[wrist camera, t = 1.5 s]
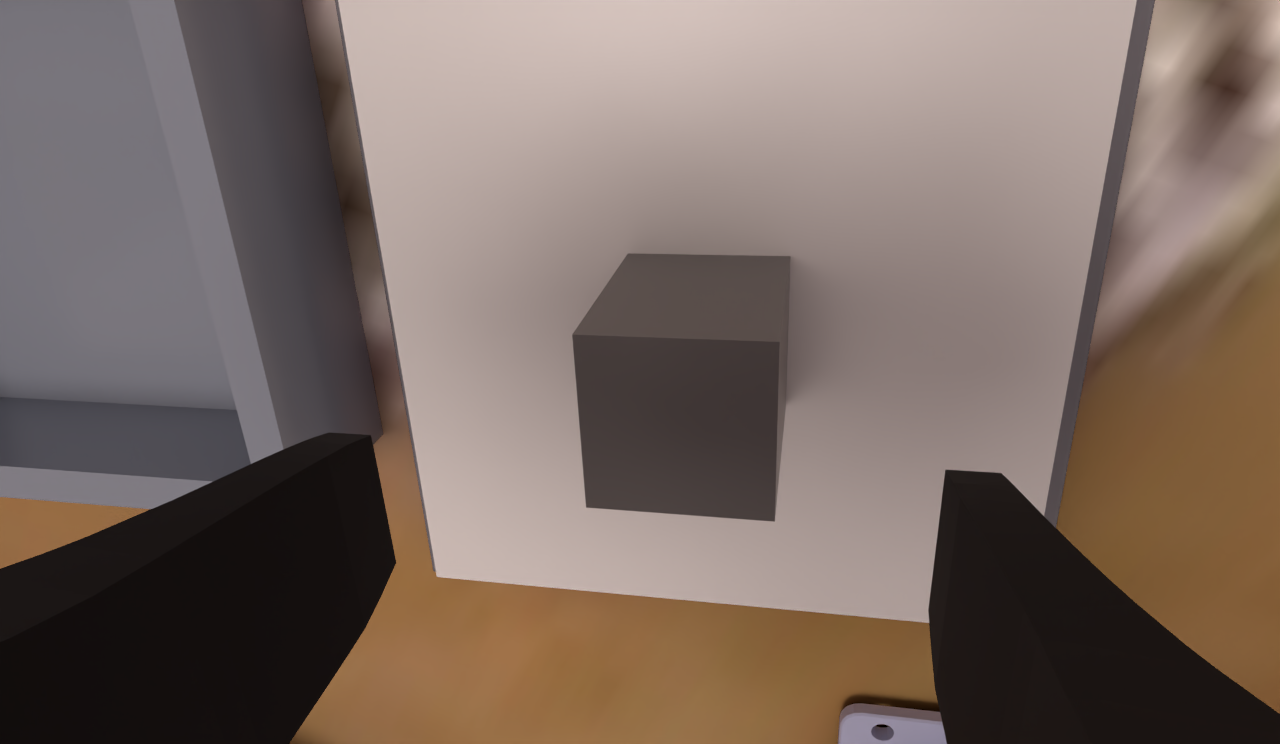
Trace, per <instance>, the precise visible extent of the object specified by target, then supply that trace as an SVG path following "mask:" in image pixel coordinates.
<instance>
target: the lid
mask: <svg viewBox="0 0 1280 744" xmlns="http://www.w3.org/2000/svg"><path fill="white" fill-rule="evenodd" d="M1136 2H1137V0H338V3H339V9H340V15H341V21H342V26H343V32H344V38H345V44H346V50H347V56H348V61H349V67H350V73H351V79H352V85H353V91H354V96H355V102H356V108H357V114H358V120H359V126H360V131H361V137H362V143H363V149H364V155H365V161H366V166H367V172H368V178H369V184H370V190H371V196H372V201H373V207H374V213H375V219H376V225H377V231H378V236H379V242H380V248H381V254H382V260H383V266H384V271H385V277H386V283H387V289H388V295H389V301H390V306H391V312H392V318H393V324H394V330H395V336H396V341H397V347H398V353H399V359H400V365H401V371H402V376H403V382H404V388H405V394H406V400H407V406H408V411H409V417H410V423H411V429H412V435H413V441H414V446H415V452H416V458H417V464H418V470H419V476H420V481H421V487H422V493H423V499H424V505H425V511H426V516H427V522H428V528H429V534H430V540H431V546H432V551H433V557H434V563H435V569H436V575H437V577H443V578H454V579H465V580H476V581H486V582H497V583H508V584H518V585H529V586H540V587H551V588H561V589H572V590H583V591H593V592H604V593H615V594H626V595H636V596H647V597H658V598H668V599H679V600H690V601H700V602H711V603H722V604H733V605H743V606H754V607H765V608H775V609H786V610H797V611H808V612H818V613H829V614H840V615H850V616H861V617H872V618H883V619H893V620H904V621H915V622H925V623H929V613H928V608H929V600H930V592H931V584H932V575H933V567H934V559H935V551H936V542H937V534H938V526H939V518H940V510H941V501H942V493H943V485H944V477H945V470H961V471H978V472H995V473H1002V474H1003V475H1004V476H1005V477H1006V478H1007V479H1008V480H1009V481H1010V482H1011V483H1012V484H1013V485H1014V486H1015V487H1016V488H1017V489H1018V490H1019V491H1020V492H1021V493H1022V494H1023V495H1024V496H1025V497H1026V498H1027V499H1028V500H1029V501H1030V502H1031V503H1032V504H1033V505H1034V506H1035V507H1036V508H1037V510H1038V511H1039V512H1040V513H1041V514H1042V515H1043V516H1044V514H1045V508H1046V502H1047V497H1048V491H1049V486H1050V480H1051V475H1052V469H1053V463H1054V458H1055V452H1056V447H1057V441H1058V436H1059V430H1060V425H1061V419H1062V413H1063V408H1064V402H1065V397H1066V391H1067V386H1068V380H1069V374H1070V369H1071V363H1072V358H1073V352H1074V347H1075V341H1076V336H1077V330H1078V324H1079V319H1080V313H1081V308H1082V302H1083V297H1084V291H1085V286H1086V280H1087V274H1088V269H1089V263H1090V258H1091V252H1092V247H1093V241H1094V235H1095V230H1096V224H1097V219H1098V213H1099V208H1100V202H1101V197H1102V191H1103V185H1104V180H1105V174H1106V169H1107V163H1108V158H1109V152H1110V146H1111V141H1112V135H1113V130H1114V124H1115V119H1116V113H1117V108H1118V102H1119V96H1120V91H1121V85H1122V80H1123V74H1124V69H1125V63H1126V58H1127V52H1128V46H1129V41H1130V35H1131V30H1132V24H1133V19H1134V13H1135V7H1136Z"/></svg>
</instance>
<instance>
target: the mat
mask: <svg viewBox="0 0 1280 744" xmlns="http://www.w3.org/2000/svg"><path fill="white" fill-rule="evenodd" d="M1154 2H1155V0H1137V2H1136V7H1135V13H1134V19H1133V24H1132V30H1131V35H1130V41H1129V46H1128V52H1127V58H1126V63H1125V69H1124V74H1123V80H1122V85H1121V91H1120V96H1119V102H1118V108H1117V113H1116V119H1115V124H1114V130H1113V135H1112V141H1111V146H1110V152H1109V158H1108V163H1107V169H1106V174H1105V180H1104V185H1103V191H1102V197H1101V202H1100V208H1099V213H1098V219H1097V224H1096V230H1095V235H1094V241H1093V247H1092V252H1091V258H1090V263H1089V269H1088V274H1087V280H1086V286H1085V291H1084V297H1083V302H1082V308H1081V313H1080V319H1079V324H1078V330H1077V336H1076V341H1075V347H1074V352H1073V358H1072V363H1071V369H1070V374H1069V380H1068V386H1067V391H1066V397H1065V402H1064V408H1063V413H1062V419H1061V425H1060V430H1059V436H1058V441H1057V447H1056V452H1055V458H1054V463H1053V469H1052V475H1051V480H1050V486H1049V491H1048V497H1047V502H1046V508H1045V514H1044V517H1045V518H1046V519H1047V520H1048V521H1049V522H1050V523H1051V524H1052V525H1053V526H1054V527H1055V528H1056V524H1057V519H1058V514H1059V508H1060V503H1061V498H1062V492H1063V487H1064V482H1065V476H1066V471H1067V466H1068V460H1069V455H1070V450H1071V444H1072V439H1073V434H1074V428H1075V423H1076V418H1077V412H1078V407H1079V402H1080V396H1081V391H1082V386H1083V381H1084V375H1085V370H1086V365H1087V359H1088V354H1089V349H1090V343H1091V338H1092V333H1093V327H1094V322H1095V317H1096V311H1097V306H1098V301H1099V295H1100V290H1101V285H1102V279H1103V274H1104V269H1105V263H1106V258H1107V253H1108V247H1109V242H1110V237H1111V231H1112V226H1113V221H1114V215H1115V210H1116V205H1117V199H1118V194H1119V189H1120V183H1121V178H1122V173H1123V168H1124V162H1125V157H1126V152H1127V146H1128V141H1129V136H1130V130H1131V125H1132V120H1133V114H1134V109H1135V104H1136V98H1137V93H1138V88H1139V82H1140V77H1141V72H1142V66H1143V61H1144V56H1145V50H1146V45H1147V40H1148V34H1149V29H1150V24H1151V18H1152V13H1153V8H1154ZM335 3H336V9H337V15H338V21H339V26H340V32H341V38H342V44H343V50H344V55H345V61H346V67H347V73H348V79H349V84H350V90H351V96H352V102H353V108H354V113H355V119H356V125H357V131H358V136H359V142H360V148H361V154H362V160H363V165H364V171H365V177H366V183H367V189H368V194H369V200H370V206H371V212H372V218H373V223H374V229H375V235H376V241H377V246H378V252H379V258H380V264H381V270H382V275H383V281H384V287H385V293H386V299H387V304H388V310H389V316H390V322H391V327H392V333H393V339H394V345H395V351H396V356H397V362H398V368H399V374H400V380H401V385H402V391H403V397H404V403H405V409H406V414H407V420H408V426H409V432H410V437H411V443H412V449H413V455H414V461H415V466H416V472H417V478H418V484H419V490H420V495H421V501H422V507H423V513H424V519H425V524H426V530H427V536H428V542H429V547H430V553H431V559H432V565H433V571H436V569H435V563H434V557H433V551H432V546H431V540H430V534H429V528H428V522H427V516H426V511H425V505H424V499H423V493H422V487H421V481H420V476H419V470H418V464H417V458H416V452H415V446H414V441H413V435H412V429H411V423H410V417H409V411H408V406H407V400H406V394H405V388H404V382H403V376H402V371H401V365H400V359H399V353H398V347H397V341H396V336H395V330H394V324H393V318H392V312H391V306H390V301H389V295H388V289H387V283H386V277H385V271H384V266H383V260H382V254H381V248H380V242H379V236H378V231H377V225H376V219H375V213H374V207H373V201H372V196H371V190H370V184H369V178H368V172H367V166H366V161H365V155H364V149H363V143H362V137H361V131H360V126H359V120H358V114H357V108H356V102H355V96H354V91H353V85H352V79H351V73H350V67H349V61H348V56H347V50H346V44H345V38H344V32H343V26H342V21H341V15H340V9H339V3H338V0H335Z"/></svg>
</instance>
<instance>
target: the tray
mask: <svg viewBox="0 0 1280 744" xmlns="http://www.w3.org/2000/svg"><path fill="white" fill-rule="evenodd" d="M329 432H330V433H346V434H363V435H371V438H372V443H373V444H374V443H375V442H376V441H377V440H378V439H379V438H380V437H381V436H382V435H383V430H382V425H381V419H380V414H379V409H378V403H377V398H376V393H375V387H374V382H373V377H372V372H371V366H370V361H369V356H368V350H367V345H366V340H365V334H364V329H363V324H362V318H361V313H360V308H359V302H358V297H357V292H356V287H355V281H354V276H353V271H352V265H351V260H350V255H349V249H348V244H347V239H346V233H345V228H344V223H343V218H342V212H341V207H340V202H339V196H338V191H337V186H336V180H335V175H334V170H333V164H332V159H331V154H330V148H329V143H328V138H327V133H326V127H325V122H324V117H323V111H322V106H321V101H320V95H319V90H318V85H317V79H316V74H315V69H314V64H313V58H312V53H311V48H310V42H309V37H308V32H307V26H306V21H305V16H304V10H303V5H302V0H0V497H9V498H21V499H33V500H46V501H58V502H70V503H83V504H95V505H107V506H120V507H132V508H144V509H153V508H155V507H158V506H160V505H162V504H165V503H167V502H169V501H172V500H174V499H176V498H178V497H181V496H183V495H185V494H187V493H189V492H191V491H194V490H196V489H198V488H200V487H202V486H204V485H207V484H209V483H211V482H213V481H215V480H217V479H220V478H222V477H224V476H226V475H228V474H230V473H233V472H235V471H237V470H239V469H241V468H243V467H246V466H248V465H250V464H252V463H254V462H256V461H259V460H261V459H263V458H265V457H267V456H270V455H272V454H274V453H276V452H279V451H281V450H283V449H286V448H288V447H290V446H293V445H295V444H298V443H300V442H303V441H305V440H308V439H311V438H313V437H316V436H319V435H323V434H326V433H329Z"/></svg>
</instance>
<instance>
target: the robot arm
mask: <svg viewBox="0 0 1280 744" xmlns="http://www.w3.org/2000/svg"><path fill="white" fill-rule="evenodd" d="M395 564H396V560H395V555H394V550H393V545H392V539H391V534H390V529H389V524H388V519H387V514H386V509H385V504H384V499H383V494H382V488H381V483H380V478H379V473H378V468H377V463H376V458H375V453H374V448H373V443H372V438H371V435H363V434H346V433H330V432H329V433H326V434H323V435H319V436H316V437H313V438H311V439H308V440H305V441H303V442H300V443H298V444H295V445H293V446H290V447H288V448H286V449H283V450H281V451H279V452H276V453H274V454H272V455H270V456H267V457H265V458H263V459H261V460H259V461H256V462H254V463H252V464H250V465H248V466H246V467H243V468H241V469H239V470H237V471H235V472H233V473H230V474H228V475H226V476H224V477H222V478H220V479H217V480H215V481H213V482H211V483H209V484H207V485H204V486H202V487H200V488H198V489H196V490H194V491H191V492H189V493H187V494H185V495H183V496H181V497H178V498H176V499H174V500H172V501H169V502H167V503H165V504H162V505H160V506H158V507H155V508H153V509H151V510H148V511H146V512H144V513H141V514H139V515H137V516H134V517H132V518H130V519H127V520H125V521H123V522H120V523H118V524H116V525H113V526H111V527H109V528H106V529H104V530H102V531H99V532H97V533H95V534H92V535H90V536H88V537H85V538H83V539H80V540H78V541H75V542H72V543H70V544H67V545H65V546H62V547H59V548H57V549H54V550H52V551H49V552H46V553H44V554H41V555H38V556H35V557H33V558H30V559H27V560H24V561H21V562H18V563H15V564H13V565H10V566H7V567H4V568H1V569H0V744H289V743H290V741H291V740H292V738H293V737H294V735H295V734H296V732H297V731H298V729H299V728H300V726H301V725H302V723H303V722H304V720H305V719H306V717H307V716H308V714H309V713H310V711H311V710H312V708H313V707H314V705H315V704H316V702H317V701H318V699H319V698H320V696H321V695H322V693H323V692H324V691H325V689H326V688H327V686H328V685H329V683H330V682H331V680H332V679H333V677H334V675H335V674H336V672H337V671H338V669H339V668H340V666H341V665H342V663H343V662H344V660H345V659H346V657H347V656H348V654H349V653H350V651H351V649H352V648H353V646H354V645H355V643H356V642H357V640H358V639H359V637H360V635H361V634H362V632H363V631H364V629H365V627H366V625H367V623H368V621H369V619H370V617H371V615H372V613H373V611H374V609H375V607H376V605H377V603H378V601H379V599H380V597H381V595H382V593H383V591H384V588H385V586H386V584H387V582H388V579H389V577H390V575H391V573H392V571H393V568H394V566H395ZM928 613H929V626H930V638H931V650H932V661H933V671H934V682H935V690H936V695H937V700H938V705H939V709H940V712H935V711H926V710H917V709H908V708H899V707H890V706H881V705H873V704H864V703H856V704H851V705H848V706H846V707H845V708H844V709H843V710H842V711H841V714H840V718H839V732H838V744H1280V714H1279V713H1277V712H1276V711H1274V710H1273V709H1272V708H1270V707H1269V706H1268V705H1266V704H1265V703H1263V702H1262V701H1261V700H1259V699H1258V698H1256V697H1255V696H1254V695H1252V694H1251V693H1250V692H1248V691H1247V690H1245V689H1244V688H1243V687H1241V686H1240V685H1238V684H1237V683H1236V682H1234V681H1233V680H1231V679H1230V678H1229V677H1227V676H1226V675H1225V674H1223V673H1222V672H1220V671H1219V670H1218V669H1216V668H1215V667H1214V666H1212V665H1211V664H1210V663H1208V662H1207V661H1206V660H1204V659H1203V658H1202V657H1201V656H1199V655H1198V654H1197V653H1195V652H1194V651H1193V650H1192V649H1190V648H1189V647H1188V646H1186V645H1185V644H1184V643H1183V642H1181V641H1180V640H1179V639H1178V638H1177V637H1176V636H1174V635H1173V634H1172V633H1171V632H1170V631H1168V630H1167V629H1166V628H1165V627H1164V626H1162V625H1161V624H1160V623H1159V622H1158V621H1156V620H1155V619H1154V618H1153V617H1152V616H1150V615H1149V614H1148V613H1147V612H1146V611H1144V610H1143V609H1142V608H1141V607H1140V606H1138V605H1137V604H1136V603H1135V602H1134V601H1133V600H1132V599H1130V598H1129V597H1128V596H1127V595H1126V594H1125V593H1124V592H1123V591H1122V590H1120V589H1119V588H1118V587H1117V586H1116V585H1115V584H1114V583H1113V582H1111V581H1110V580H1109V579H1108V578H1107V577H1106V576H1105V575H1104V574H1103V573H1102V572H1101V571H1100V570H1098V569H1097V568H1096V567H1095V566H1094V565H1093V564H1092V563H1091V562H1090V561H1089V560H1088V559H1087V558H1086V557H1085V556H1084V555H1083V554H1082V553H1081V552H1080V551H1078V550H1077V549H1076V548H1075V547H1074V546H1073V545H1072V544H1071V543H1070V542H1069V541H1068V540H1067V539H1066V538H1065V537H1064V536H1063V535H1062V534H1061V533H1060V532H1059V531H1058V530H1057V529H1056V528H1055V527H1054V526H1053V525H1052V524H1051V523H1050V522H1049V521H1048V520H1047V519H1046V518H1045V517H1044V516H1043V515H1042V514H1041V513H1040V512H1039V511H1038V510H1037V508H1036V507H1035V506H1034V505H1033V504H1032V503H1031V502H1030V501H1029V500H1028V499H1027V498H1026V497H1025V496H1024V495H1023V494H1022V493H1021V492H1020V491H1019V490H1018V489H1017V488H1016V487H1015V486H1014V485H1013V484H1012V483H1011V482H1010V481H1009V480H1008V479H1007V478H1006V477H1005V476H1004V475H1003V474H1002V473H995V472H978V471H961V470H945V477H944V485H943V493H942V501H941V510H940V518H939V526H938V534H937V542H936V551H935V559H934V567H933V575H932V584H931V592H930V600H929V608H928ZM878 724H885V725H888V727H884V728H880V727H877V726H876V725H878Z"/></svg>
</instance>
